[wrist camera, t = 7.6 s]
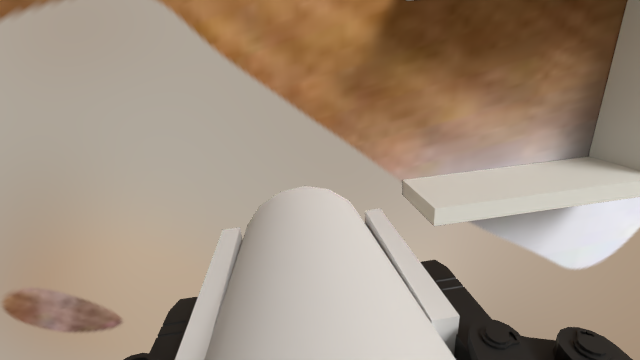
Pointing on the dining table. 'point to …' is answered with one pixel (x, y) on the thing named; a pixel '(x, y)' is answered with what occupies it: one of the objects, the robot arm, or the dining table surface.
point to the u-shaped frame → (561, 175)
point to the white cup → (318, 290)
